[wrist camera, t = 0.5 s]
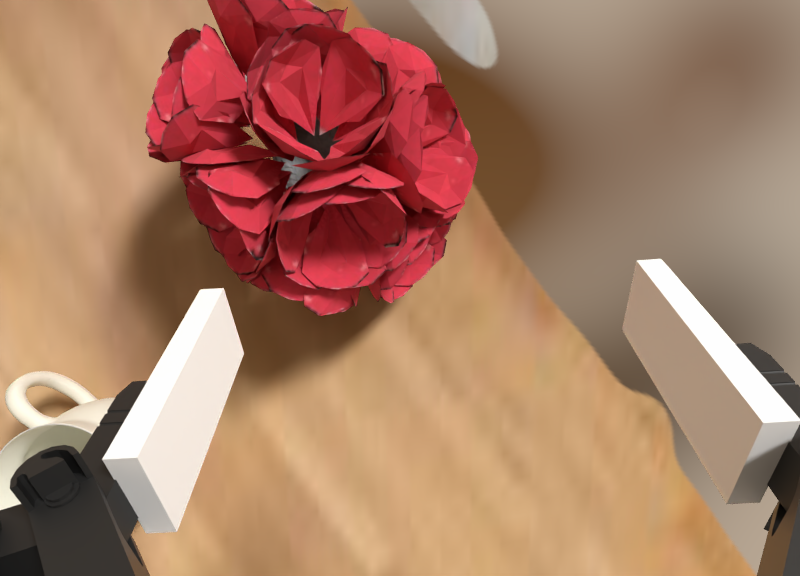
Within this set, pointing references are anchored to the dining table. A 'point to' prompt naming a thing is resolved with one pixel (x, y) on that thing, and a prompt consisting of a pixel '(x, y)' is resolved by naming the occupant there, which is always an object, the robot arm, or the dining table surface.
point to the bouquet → (313, 150)
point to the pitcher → (46, 424)
